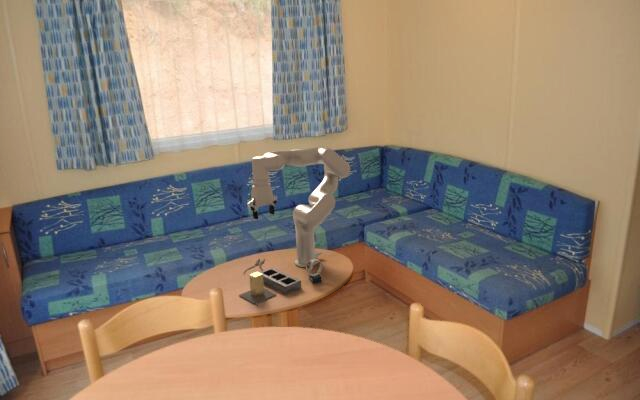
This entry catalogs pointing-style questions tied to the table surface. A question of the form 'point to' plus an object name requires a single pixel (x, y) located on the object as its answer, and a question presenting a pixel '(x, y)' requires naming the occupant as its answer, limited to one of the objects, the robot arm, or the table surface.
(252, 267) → the pliers
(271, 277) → the grey compartment tray
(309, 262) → the watch
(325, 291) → the table surface
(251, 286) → the tan rectangular block
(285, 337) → the table surface
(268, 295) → the mat
